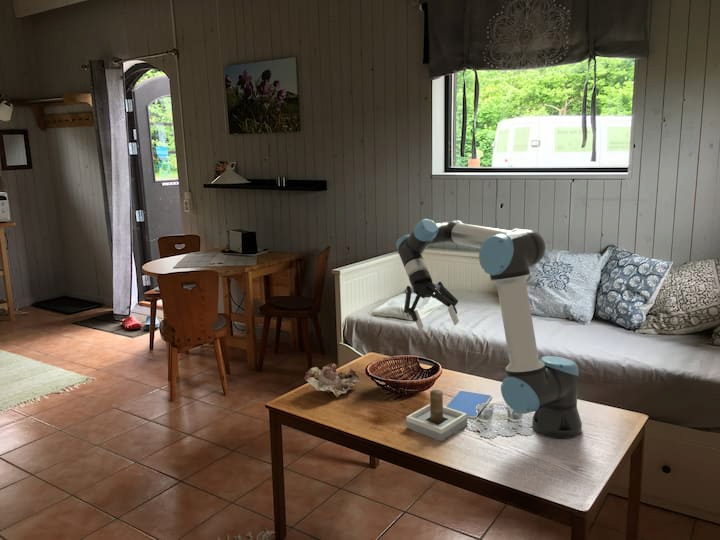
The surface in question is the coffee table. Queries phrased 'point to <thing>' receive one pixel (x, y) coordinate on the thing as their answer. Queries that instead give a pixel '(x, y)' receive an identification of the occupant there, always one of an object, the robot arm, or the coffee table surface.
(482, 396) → the blue rectangular panel
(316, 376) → the mineral formation
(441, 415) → the peg
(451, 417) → the tray
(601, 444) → the coffee table surface
